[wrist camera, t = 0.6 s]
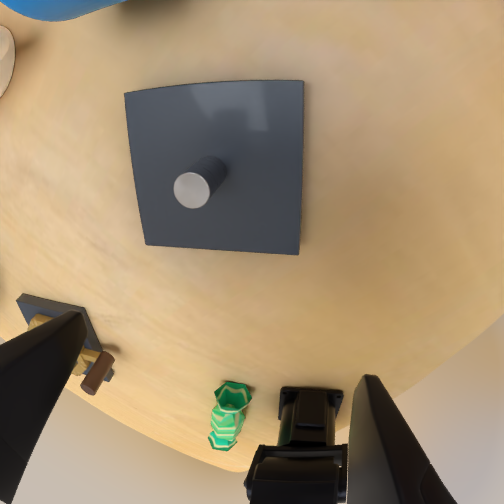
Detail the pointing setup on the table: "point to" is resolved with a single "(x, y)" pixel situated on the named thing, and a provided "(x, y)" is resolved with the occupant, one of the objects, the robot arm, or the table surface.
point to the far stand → (53, 309)
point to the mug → (6, 58)
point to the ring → (85, 361)
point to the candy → (228, 415)
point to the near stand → (219, 164)
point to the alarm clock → (57, 8)
